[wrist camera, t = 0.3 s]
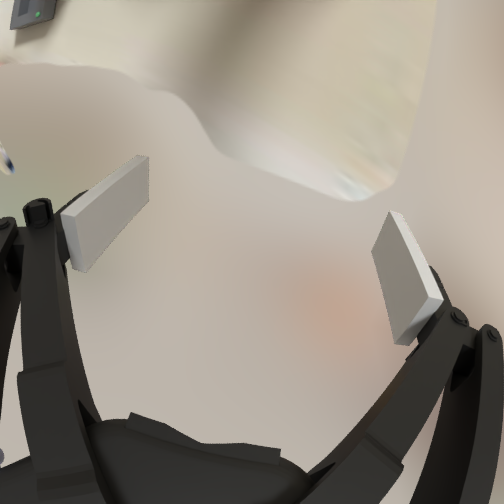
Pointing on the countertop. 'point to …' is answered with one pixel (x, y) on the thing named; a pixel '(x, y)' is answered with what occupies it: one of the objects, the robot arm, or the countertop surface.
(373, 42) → the countertop surface
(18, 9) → the port
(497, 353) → the robot arm
